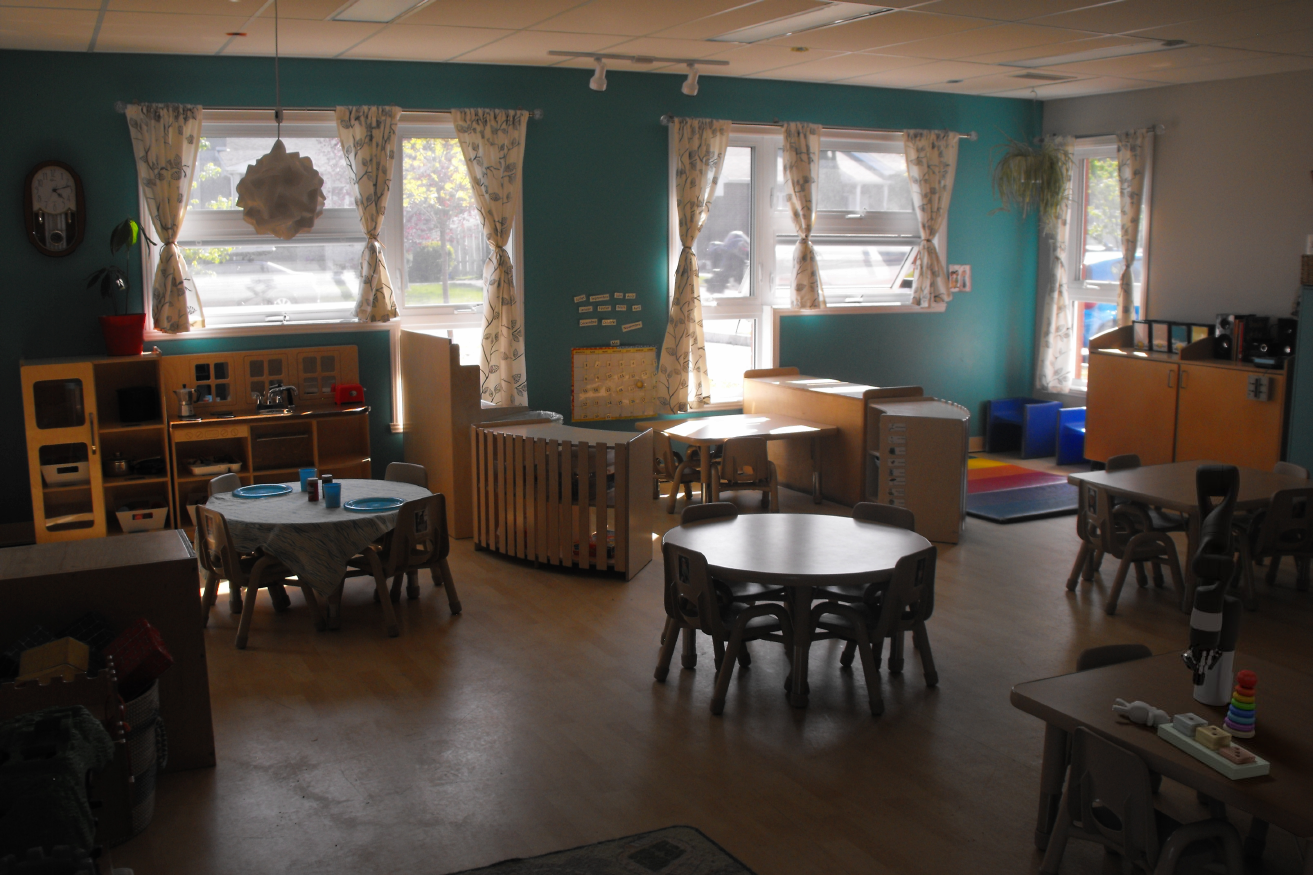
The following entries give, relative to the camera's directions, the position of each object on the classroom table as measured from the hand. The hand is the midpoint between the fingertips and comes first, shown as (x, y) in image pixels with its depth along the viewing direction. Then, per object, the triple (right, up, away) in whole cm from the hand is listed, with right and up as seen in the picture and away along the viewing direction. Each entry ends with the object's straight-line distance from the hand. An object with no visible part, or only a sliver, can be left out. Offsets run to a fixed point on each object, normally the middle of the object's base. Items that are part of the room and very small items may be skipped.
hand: (1197, 684), depth 294 cm
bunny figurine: (-9, -14, +15) cm, 23 cm away
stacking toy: (+16, -16, +9) cm, 24 cm away
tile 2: (+2, -15, -5) cm, 16 cm away
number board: (+1, -18, -4) cm, 18 cm away
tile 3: (+4, -19, -12) cm, 23 cm away
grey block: (-1, -14, +3) cm, 14 cm away
